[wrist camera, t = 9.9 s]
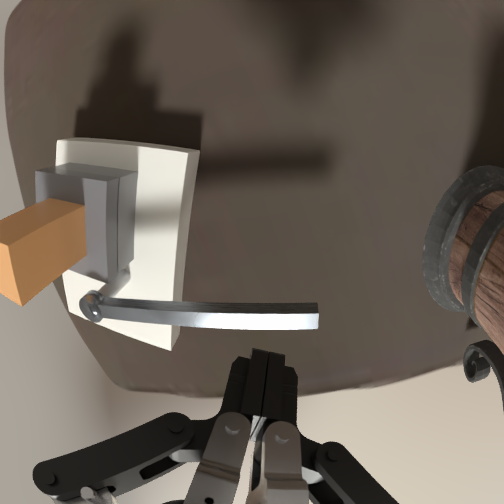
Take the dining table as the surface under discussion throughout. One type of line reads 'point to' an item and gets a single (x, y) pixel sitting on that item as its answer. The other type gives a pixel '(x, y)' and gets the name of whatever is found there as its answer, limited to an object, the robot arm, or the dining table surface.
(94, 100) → the dining table surface
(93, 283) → the socket block
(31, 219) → the plug
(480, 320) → the tankard
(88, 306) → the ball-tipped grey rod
